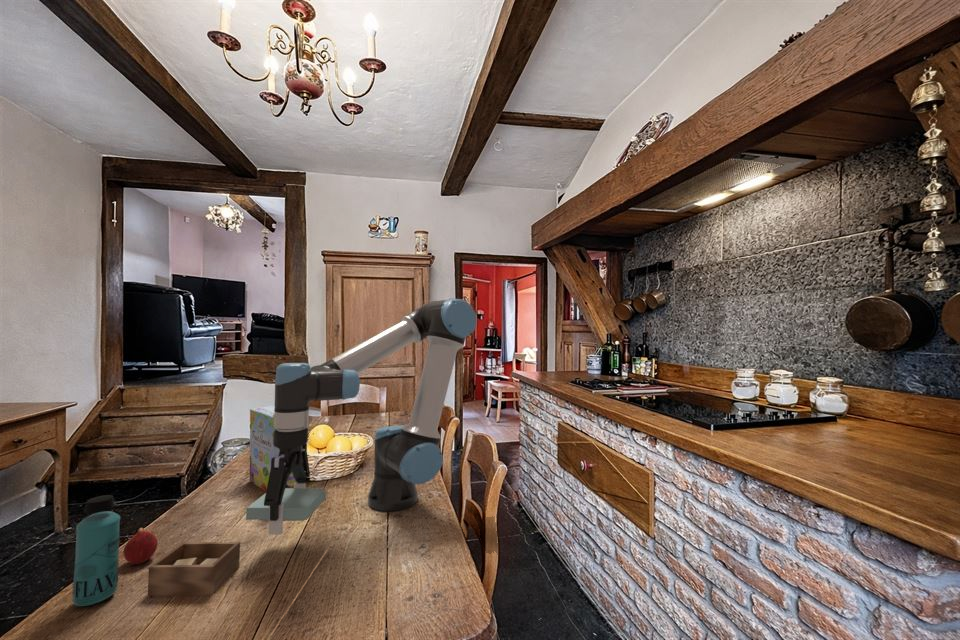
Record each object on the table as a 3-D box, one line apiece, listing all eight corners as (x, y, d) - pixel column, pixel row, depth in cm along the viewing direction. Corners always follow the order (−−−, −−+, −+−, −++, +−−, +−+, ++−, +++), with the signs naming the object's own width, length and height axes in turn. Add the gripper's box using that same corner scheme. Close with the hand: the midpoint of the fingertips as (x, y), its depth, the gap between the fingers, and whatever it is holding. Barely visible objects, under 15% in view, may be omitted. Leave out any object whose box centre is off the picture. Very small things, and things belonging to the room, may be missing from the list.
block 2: (223, 575, 85) (223, 558, 85) (212, 585, 82) (213, 568, 82) (206, 575, 85) (206, 558, 85) (195, 585, 82) (195, 568, 82)
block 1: (196, 574, 86) (196, 557, 86) (189, 584, 82) (189, 566, 82) (176, 576, 85) (177, 560, 85) (169, 587, 81) (169, 569, 81)
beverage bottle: (64, 619, 73) (69, 507, 73) (79, 598, 79) (84, 494, 79) (111, 608, 76) (115, 501, 76) (123, 588, 82) (126, 489, 82)
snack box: (246, 482, 140) (248, 408, 141) (272, 475, 147) (274, 405, 147) (272, 499, 126) (274, 416, 127) (300, 491, 132) (302, 412, 133)
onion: (163, 560, 92) (164, 524, 92) (134, 574, 86) (135, 536, 87) (145, 555, 94) (147, 520, 94) (116, 569, 88) (118, 532, 89)
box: (239, 569, 88) (240, 542, 89) (211, 597, 79) (212, 566, 79) (181, 570, 88) (182, 542, 88) (147, 598, 79) (148, 567, 79)
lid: (325, 503, 101) (325, 488, 101) (306, 525, 89) (307, 508, 90) (271, 503, 101) (272, 488, 101) (245, 525, 89) (246, 507, 89)
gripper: (296, 417, 108) (293, 500, 107) (247, 441, 84) (243, 547, 83) (324, 418, 108) (322, 500, 107) (283, 441, 84) (280, 547, 83)
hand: (287, 521), depth 95 cm, fingers closed on lid, 11 cm apart
